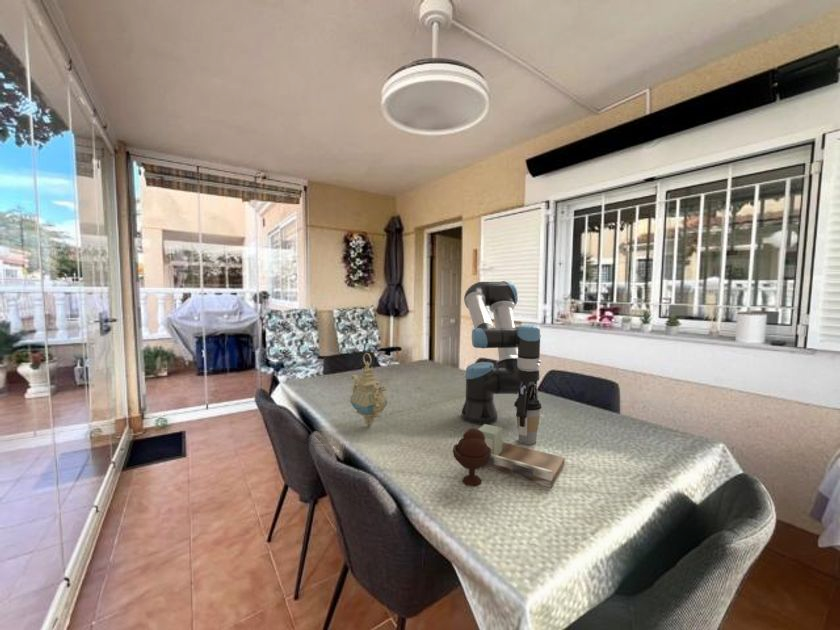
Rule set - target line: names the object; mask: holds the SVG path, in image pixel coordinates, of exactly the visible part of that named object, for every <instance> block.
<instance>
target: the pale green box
mask: <svg viewBox="0 0 840 630" xmlns="http://www.w3.org/2000/svg"><path fill="white" fill-rule="evenodd" d="M477 429H478V430H480V431H481V432H482V433H483V434H484V437H485V443H486V444H487V446H488V447H489V448H491V454H494V455H499V454H500V453H501V452H502V442H503V428H502V427H500V426H496V425H495V426H494V425H490V424H482V426H481V427H479V428H477Z"/></svg>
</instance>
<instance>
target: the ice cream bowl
mask: <svg viewBox="0 0 840 630" xmlns="http://www.w3.org/2000/svg"><path fill="white" fill-rule="evenodd" d="M478 429H479V428H469V429H468V430H467V431H465V432H464V434H463V436H462V438H460V439H459V440H458V443H456V444H455V445H453V448H452V453H453V457H454V459H455V460H456V461H457V462H458V463H459V465H461V466H462V467H463V468H464V469H467V470H468V474H467V475H464V476H463V477H462V481H461V482H462V483H463V484H464V485H465V486H468V487H478V486H480V485H481V484H482V479H481V477H479V475H476V470H479V469H481V468H484V467H483V466H484V465H486V464H487V463H488V461H489V459H490V455H491V448H489V447H488V446H487V444H486V443H485V437H484V434H483V433H482V432H481V431H480V430H478Z"/></svg>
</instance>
